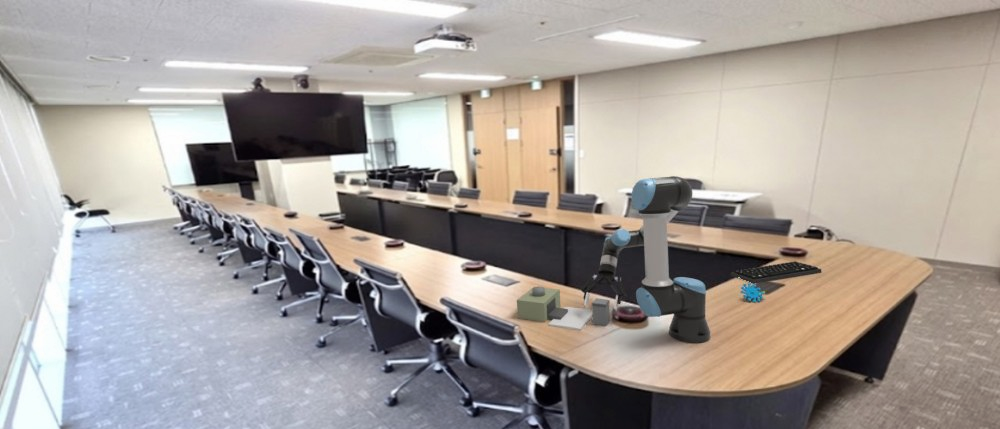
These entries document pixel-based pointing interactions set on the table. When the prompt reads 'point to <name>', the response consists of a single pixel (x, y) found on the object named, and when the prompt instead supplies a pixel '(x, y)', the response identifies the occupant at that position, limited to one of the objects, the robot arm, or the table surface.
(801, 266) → the computer keyboard
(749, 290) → the blue virus model
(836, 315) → the table surface
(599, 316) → the gray lidded box
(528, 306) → the green knobbed box
